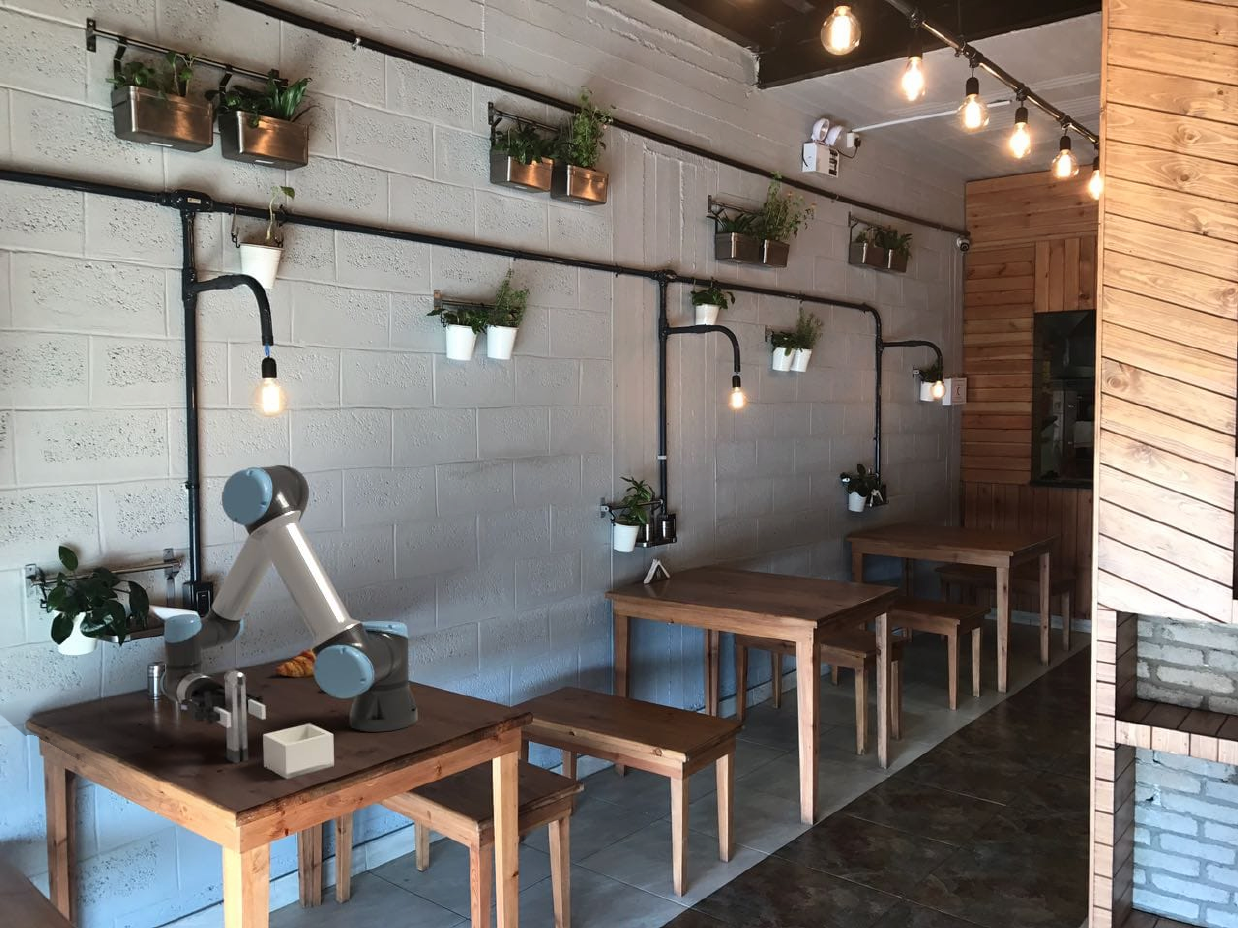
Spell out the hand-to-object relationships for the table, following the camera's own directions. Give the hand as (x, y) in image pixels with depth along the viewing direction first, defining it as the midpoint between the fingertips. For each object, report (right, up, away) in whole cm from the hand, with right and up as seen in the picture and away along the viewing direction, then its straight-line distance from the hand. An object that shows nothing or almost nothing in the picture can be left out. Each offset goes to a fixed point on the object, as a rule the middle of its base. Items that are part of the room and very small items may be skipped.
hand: (246, 716), depth 201 cm
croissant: (-8, -7, +73) cm, 73 cm away
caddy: (+11, -10, 0) cm, 15 cm away
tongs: (-3, -10, +4) cm, 11 cm away
